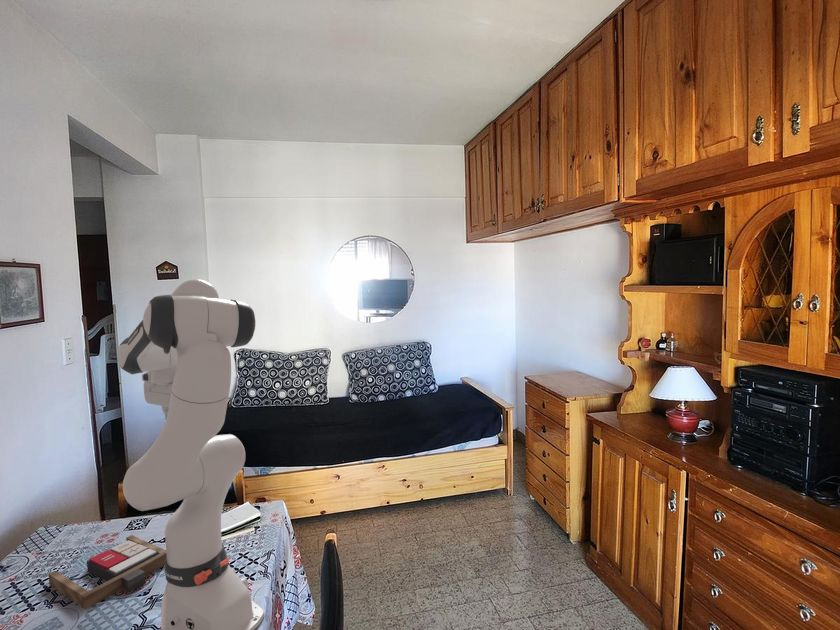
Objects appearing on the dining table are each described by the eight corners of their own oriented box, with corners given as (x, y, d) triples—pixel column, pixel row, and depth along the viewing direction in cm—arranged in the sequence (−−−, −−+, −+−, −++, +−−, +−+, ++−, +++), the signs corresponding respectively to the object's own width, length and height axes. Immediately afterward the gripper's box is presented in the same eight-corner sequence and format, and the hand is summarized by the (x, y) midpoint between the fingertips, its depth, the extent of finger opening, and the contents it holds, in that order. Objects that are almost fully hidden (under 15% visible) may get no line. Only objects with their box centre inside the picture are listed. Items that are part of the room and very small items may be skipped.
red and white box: (129, 538, 129) (159, 549, 122) (131, 552, 129) (160, 564, 122) (85, 558, 120) (114, 572, 112) (87, 574, 120) (116, 589, 112)
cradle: (176, 565, 121) (175, 554, 121) (92, 613, 104) (90, 601, 103) (132, 544, 132) (131, 534, 131) (49, 585, 114) (48, 573, 114)
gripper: (198, 375, 134) (201, 421, 135) (159, 371, 144) (162, 413, 145) (178, 379, 128) (181, 427, 129) (138, 374, 139) (141, 419, 140)
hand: (170, 420), depth 137 cm, fingers closed
